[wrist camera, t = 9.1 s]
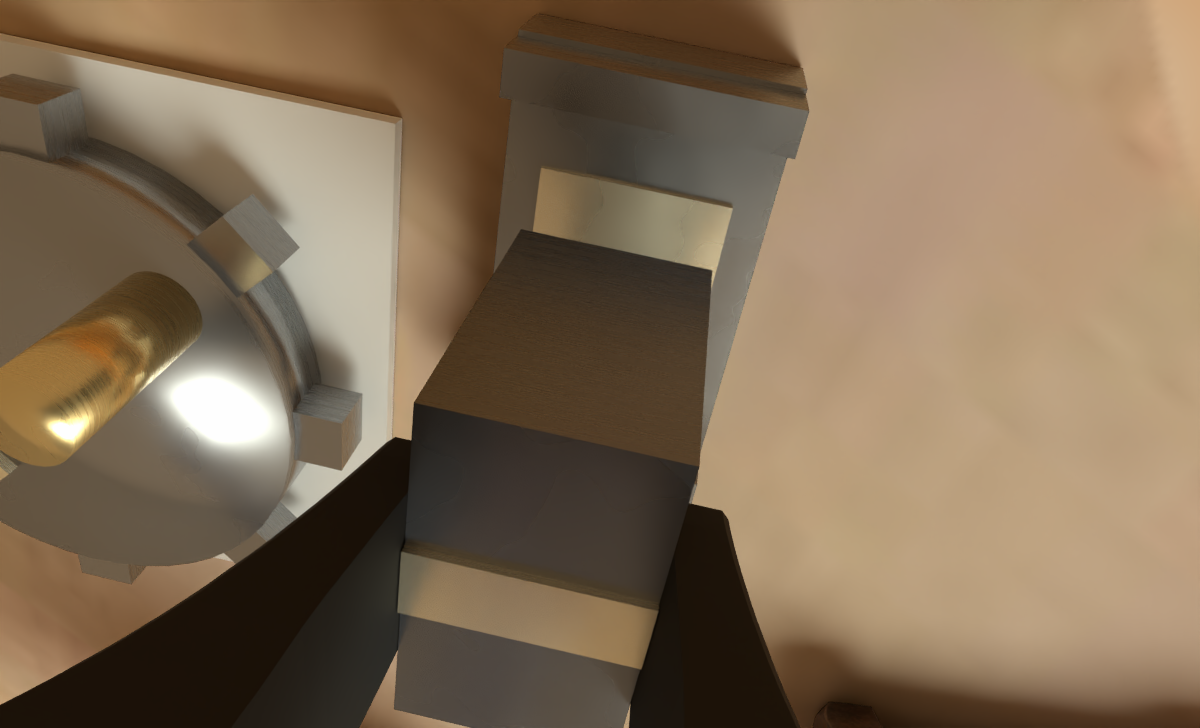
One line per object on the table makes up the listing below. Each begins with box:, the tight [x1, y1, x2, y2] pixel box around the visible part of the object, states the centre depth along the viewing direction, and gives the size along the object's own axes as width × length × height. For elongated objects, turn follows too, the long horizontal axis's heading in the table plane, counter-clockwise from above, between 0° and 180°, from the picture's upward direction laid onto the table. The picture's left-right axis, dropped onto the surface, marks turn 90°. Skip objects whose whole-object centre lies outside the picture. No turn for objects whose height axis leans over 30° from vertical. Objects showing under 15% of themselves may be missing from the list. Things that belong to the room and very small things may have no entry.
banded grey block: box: [394, 229, 712, 728], centre depth 12 cm, size 5×3×5 cm, turn 171°
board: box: [0, 33, 402, 562], centre depth 21 cm, size 14×14×1 cm
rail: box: [493, 14, 809, 504], centre depth 17 cm, size 9×5×2 cm, turn 171°
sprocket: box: [0, 74, 363, 584], centre depth 18 cm, size 13×13×6 cm
